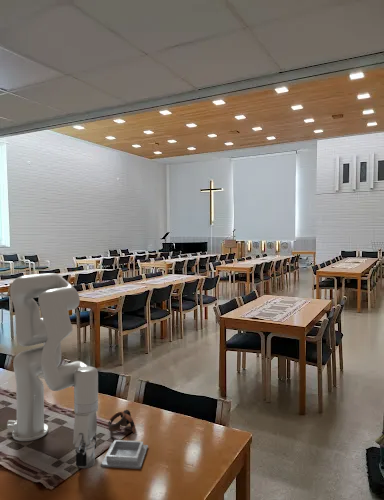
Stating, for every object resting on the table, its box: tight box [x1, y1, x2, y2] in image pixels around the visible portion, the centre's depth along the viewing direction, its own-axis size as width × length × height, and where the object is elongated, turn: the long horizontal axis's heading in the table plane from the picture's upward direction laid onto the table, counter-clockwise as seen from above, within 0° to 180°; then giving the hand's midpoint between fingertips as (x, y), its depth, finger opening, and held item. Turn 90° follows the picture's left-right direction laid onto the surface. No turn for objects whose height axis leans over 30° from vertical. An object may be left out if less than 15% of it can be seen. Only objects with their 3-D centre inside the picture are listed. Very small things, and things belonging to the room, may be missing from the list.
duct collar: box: [100, 439, 149, 470], centre depth 136 cm, size 13×13×3 cm
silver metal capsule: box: [77, 439, 96, 469], centre depth 132 cm, size 6×6×7 cm
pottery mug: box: [107, 409, 137, 434], centre depth 154 cm, size 12×10×8 cm
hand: (86, 457), depth 132 cm, fingers open, 9 cm apart
